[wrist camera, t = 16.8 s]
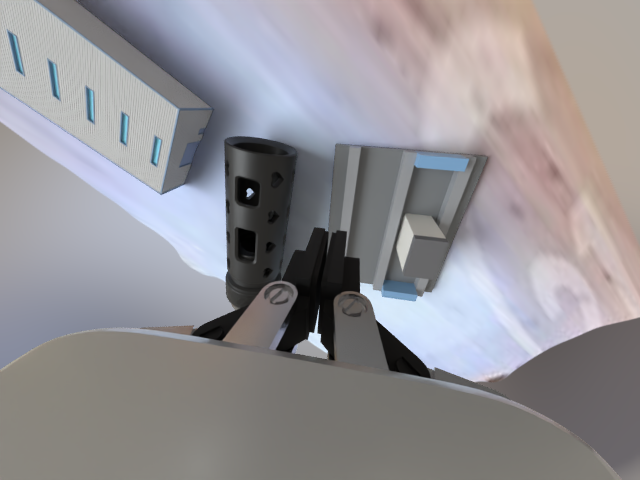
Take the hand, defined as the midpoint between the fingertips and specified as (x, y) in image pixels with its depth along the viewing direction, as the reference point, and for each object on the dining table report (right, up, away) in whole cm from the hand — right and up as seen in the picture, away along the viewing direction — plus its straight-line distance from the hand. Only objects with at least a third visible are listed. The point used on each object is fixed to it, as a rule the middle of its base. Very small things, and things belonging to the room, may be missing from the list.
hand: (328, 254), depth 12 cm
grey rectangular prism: (+14, +2, +25) cm, 29 cm away
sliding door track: (+11, +3, +26) cm, 28 cm away
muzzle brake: (-10, +4, +29) cm, 31 cm away
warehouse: (-32, +24, +22) cm, 45 cm away
